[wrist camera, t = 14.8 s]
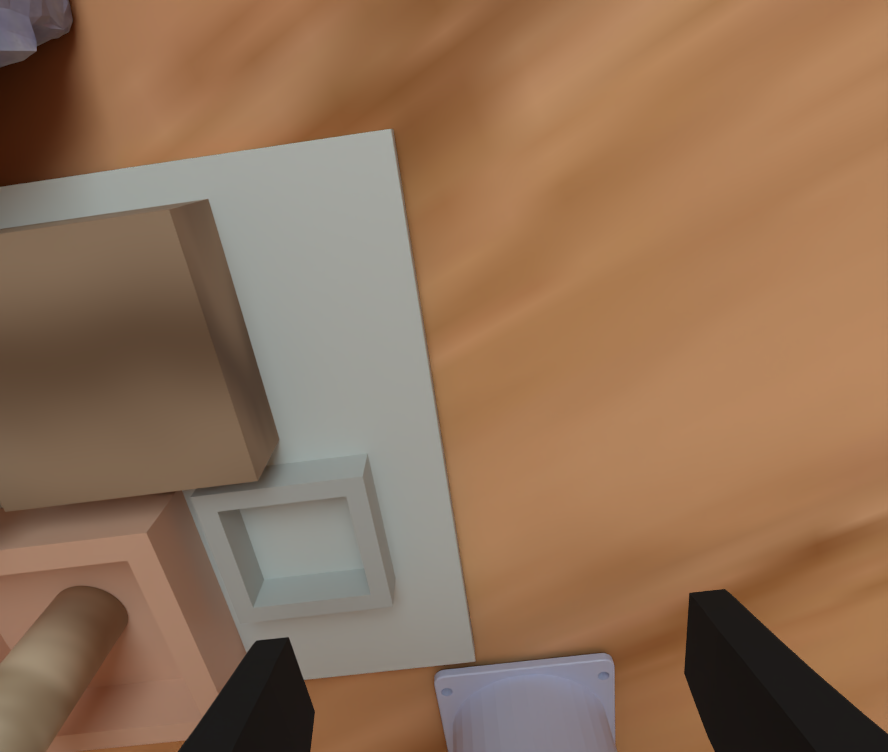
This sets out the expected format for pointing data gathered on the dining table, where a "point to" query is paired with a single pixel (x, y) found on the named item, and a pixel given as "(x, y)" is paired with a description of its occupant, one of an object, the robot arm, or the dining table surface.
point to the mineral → (30, 26)
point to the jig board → (317, 401)
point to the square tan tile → (124, 360)
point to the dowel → (55, 665)
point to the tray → (147, 605)
